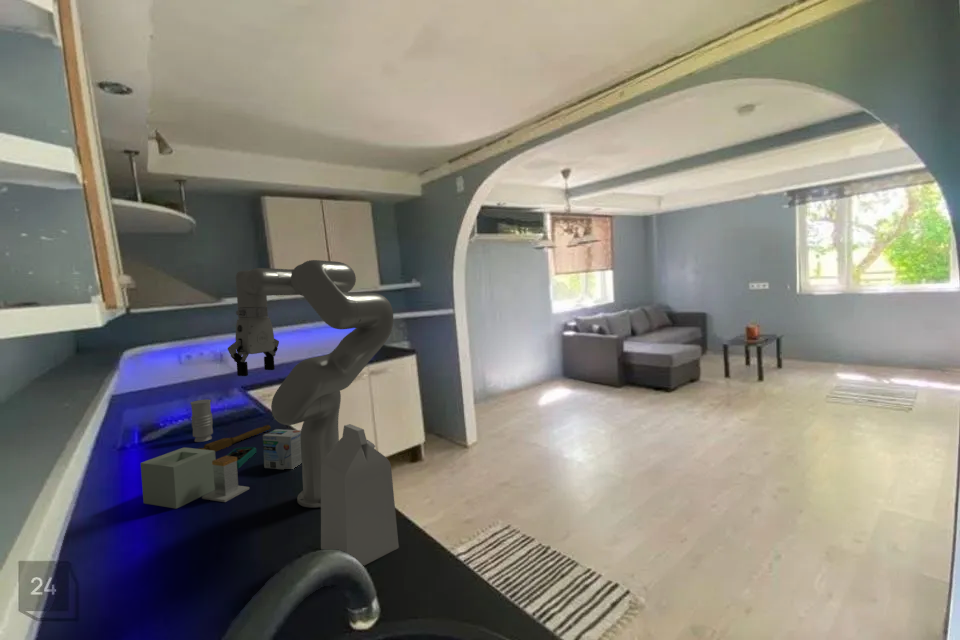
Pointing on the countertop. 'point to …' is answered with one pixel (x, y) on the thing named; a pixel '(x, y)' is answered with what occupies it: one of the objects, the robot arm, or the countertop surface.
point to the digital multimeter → (242, 454)
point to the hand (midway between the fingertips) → (256, 372)
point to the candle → (201, 420)
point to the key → (225, 475)
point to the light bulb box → (282, 449)
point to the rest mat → (222, 497)
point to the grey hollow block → (178, 477)
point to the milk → (357, 499)
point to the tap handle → (233, 439)
